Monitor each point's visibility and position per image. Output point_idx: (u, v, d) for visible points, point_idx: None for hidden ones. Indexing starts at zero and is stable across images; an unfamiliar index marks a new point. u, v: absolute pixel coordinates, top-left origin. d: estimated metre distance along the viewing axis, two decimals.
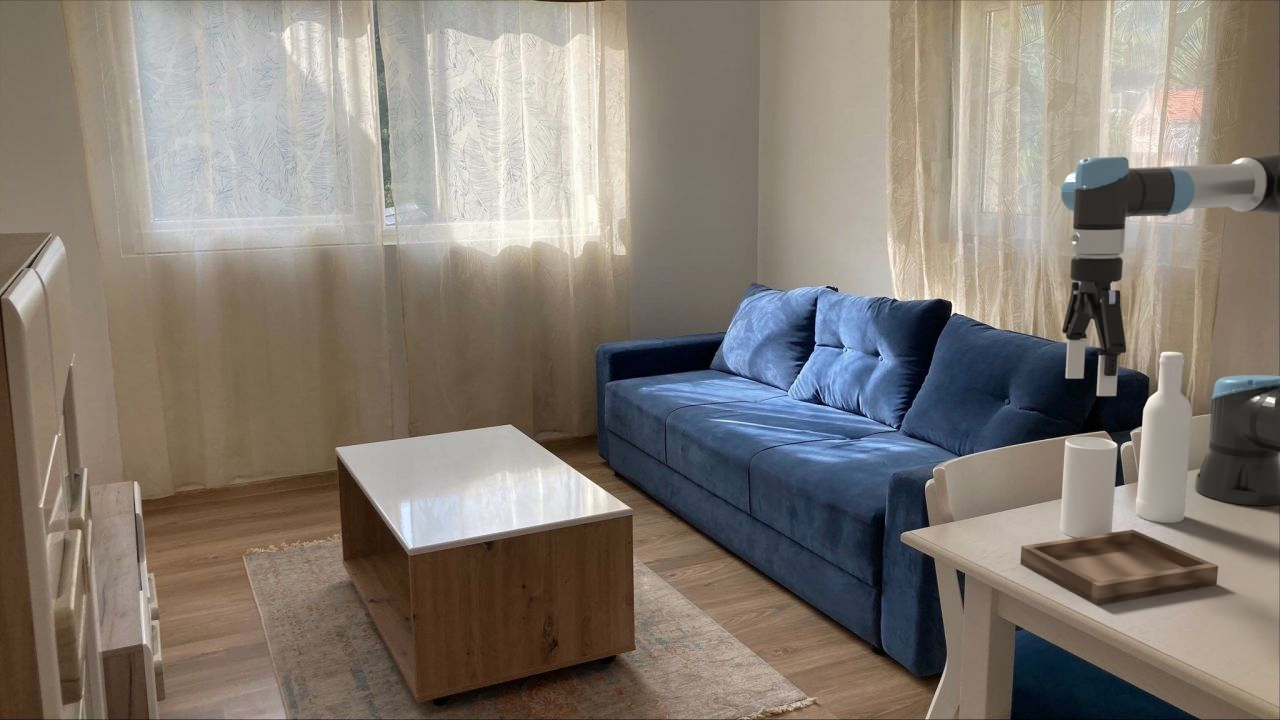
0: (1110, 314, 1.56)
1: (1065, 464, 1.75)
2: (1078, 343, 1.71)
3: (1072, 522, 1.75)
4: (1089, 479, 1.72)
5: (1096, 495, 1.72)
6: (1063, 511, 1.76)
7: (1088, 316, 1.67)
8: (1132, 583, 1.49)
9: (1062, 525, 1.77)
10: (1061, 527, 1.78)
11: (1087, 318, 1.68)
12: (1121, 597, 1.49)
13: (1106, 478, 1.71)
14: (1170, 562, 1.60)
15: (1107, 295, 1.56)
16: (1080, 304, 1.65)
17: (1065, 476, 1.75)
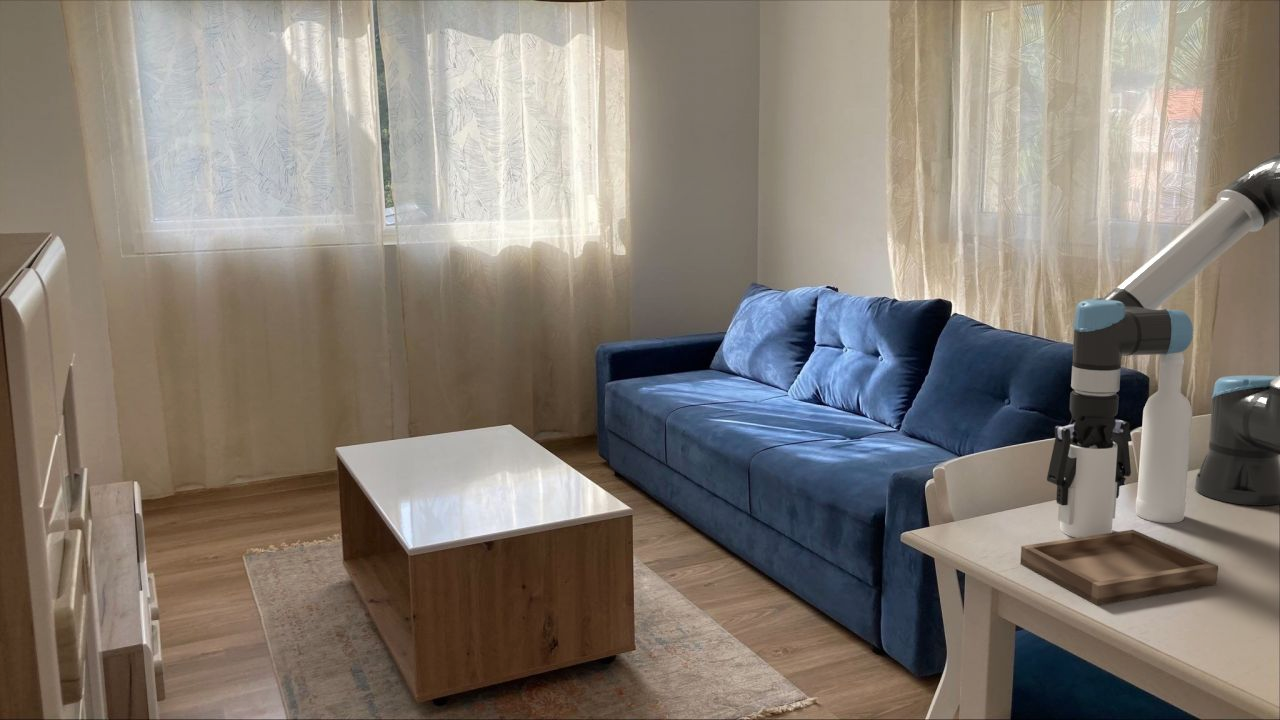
0: (1056, 448, 1.73)
1: None
2: None
3: None
4: (1089, 479, 1.72)
5: (1096, 495, 1.72)
6: None
7: None
8: (1132, 583, 1.49)
9: (1062, 525, 1.77)
10: (1061, 527, 1.78)
11: None
12: (1121, 597, 1.49)
13: (1106, 478, 1.71)
14: (1170, 562, 1.60)
15: (1056, 431, 1.73)
16: None
17: None
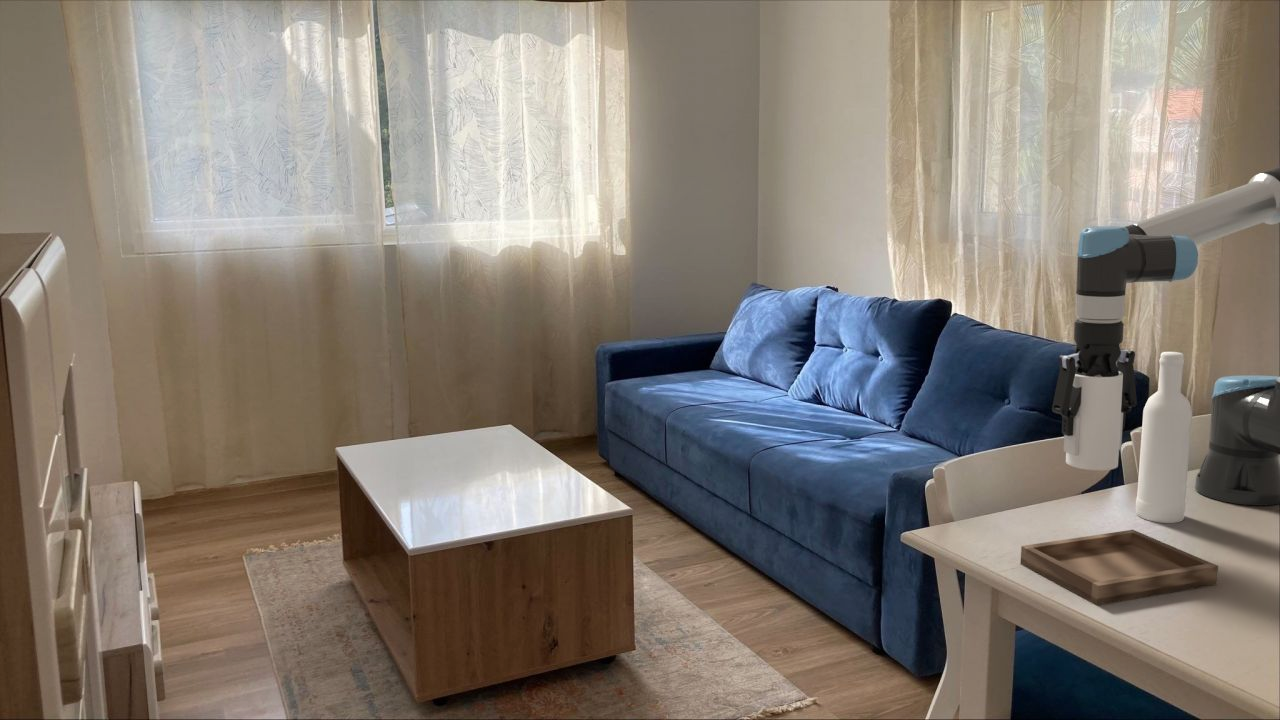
0: (1061, 378, 1.71)
1: None
2: None
3: (1078, 453, 1.72)
4: (1095, 408, 1.69)
5: (1102, 424, 1.70)
6: None
7: None
8: (1132, 583, 1.49)
9: (1068, 457, 1.75)
10: (1067, 459, 1.75)
11: None
12: (1121, 597, 1.49)
13: (1112, 407, 1.69)
14: (1170, 562, 1.60)
15: (1061, 360, 1.70)
16: None
17: None
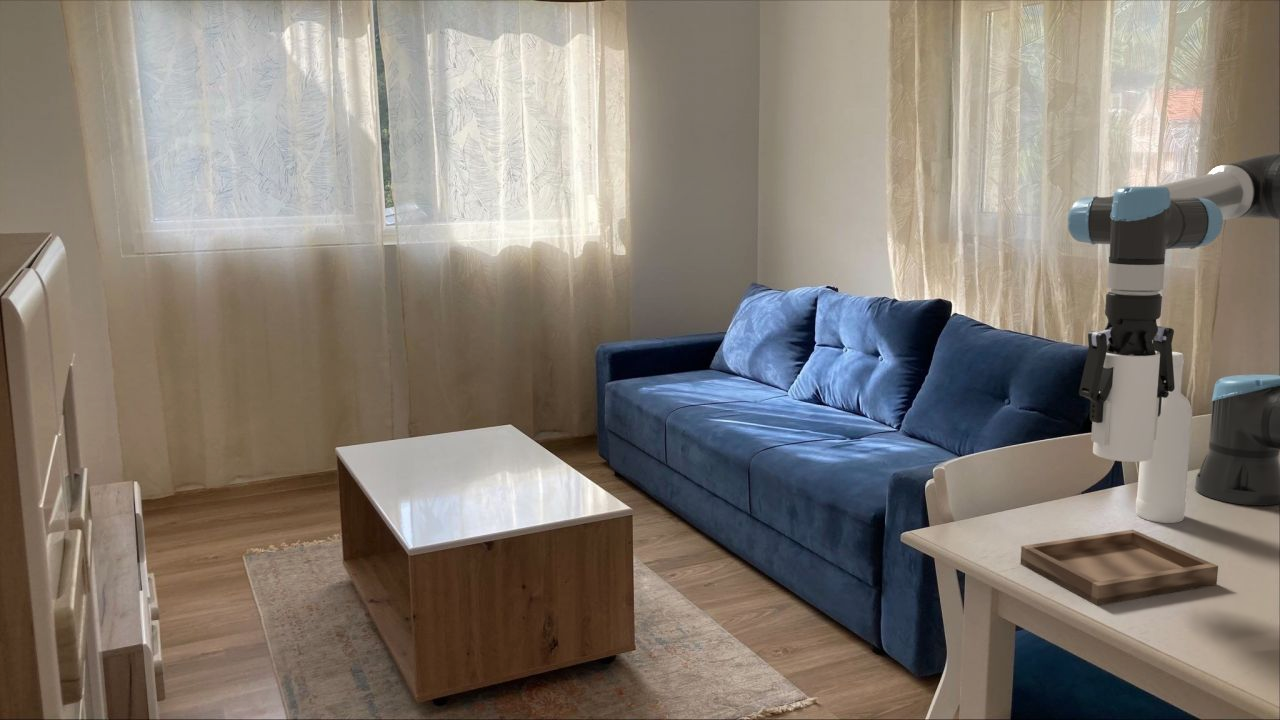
0: (1090, 357, 1.51)
1: None
2: None
3: None
4: (1128, 391, 1.50)
5: (1136, 410, 1.50)
6: None
7: None
8: (1132, 583, 1.49)
9: (1096, 447, 1.55)
10: (1094, 449, 1.56)
11: None
12: (1121, 597, 1.49)
13: (1147, 390, 1.50)
14: (1170, 562, 1.60)
15: (1090, 337, 1.51)
16: None
17: None
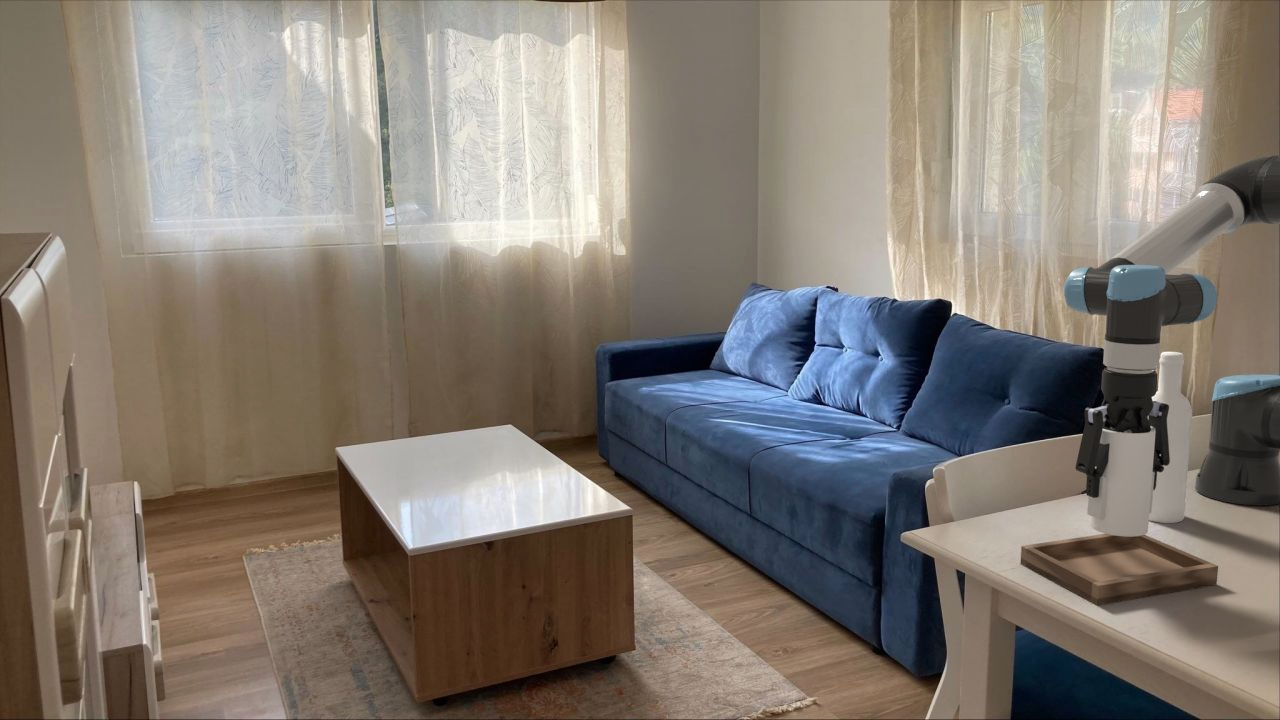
0: (1086, 433, 1.53)
1: None
2: None
3: (1104, 516, 1.55)
4: (1124, 468, 1.52)
5: (1131, 486, 1.52)
6: None
7: None
8: (1132, 583, 1.49)
9: (1092, 520, 1.57)
10: (1091, 522, 1.58)
11: None
12: (1121, 597, 1.49)
13: (1143, 466, 1.52)
14: (1170, 562, 1.60)
15: (1086, 413, 1.53)
16: None
17: None
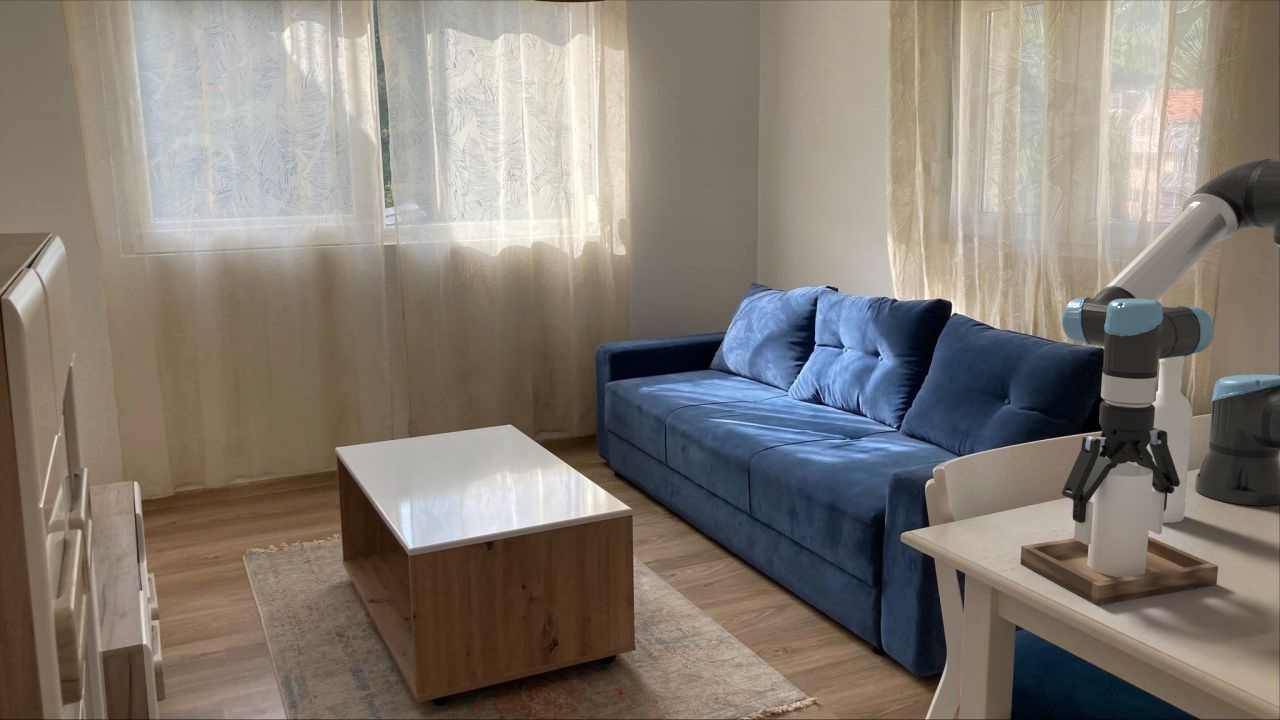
0: (1080, 459, 1.53)
1: None
2: (1155, 494, 1.58)
3: (1102, 557, 1.56)
4: (1121, 510, 1.53)
5: (1129, 528, 1.53)
6: (1091, 545, 1.58)
7: (1145, 466, 1.56)
8: (1132, 583, 1.49)
9: (1090, 560, 1.58)
10: (1089, 562, 1.59)
11: None
12: (1121, 597, 1.49)
13: (1141, 509, 1.53)
14: (1170, 562, 1.60)
15: (1084, 440, 1.53)
16: None
17: (1094, 506, 1.57)
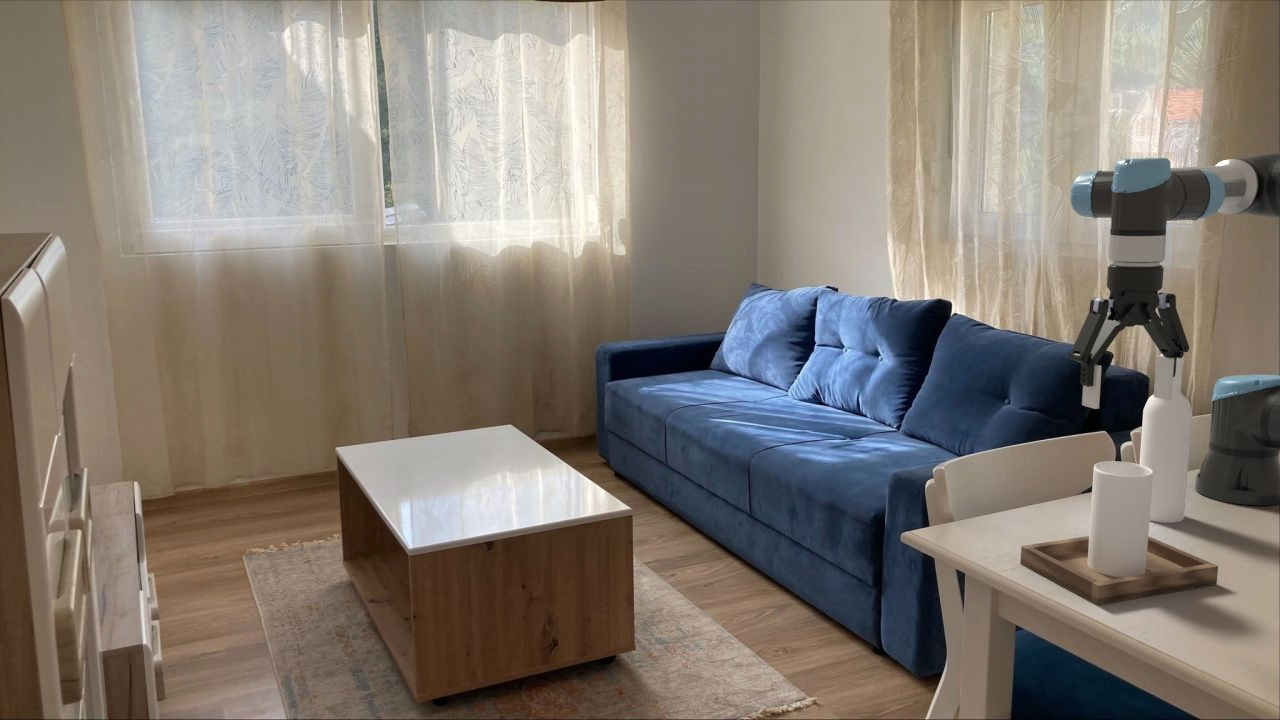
0: (1088, 322, 1.51)
1: (1094, 492, 1.57)
2: (1164, 360, 1.56)
3: (1102, 557, 1.56)
4: (1121, 510, 1.53)
5: (1129, 528, 1.53)
6: (1091, 545, 1.58)
7: (1154, 330, 1.54)
8: (1132, 583, 1.49)
9: (1090, 560, 1.58)
10: (1089, 562, 1.59)
11: (1155, 332, 1.54)
12: (1121, 597, 1.49)
13: (1141, 509, 1.53)
14: (1170, 562, 1.60)
15: (1092, 302, 1.51)
16: None
17: (1094, 506, 1.57)
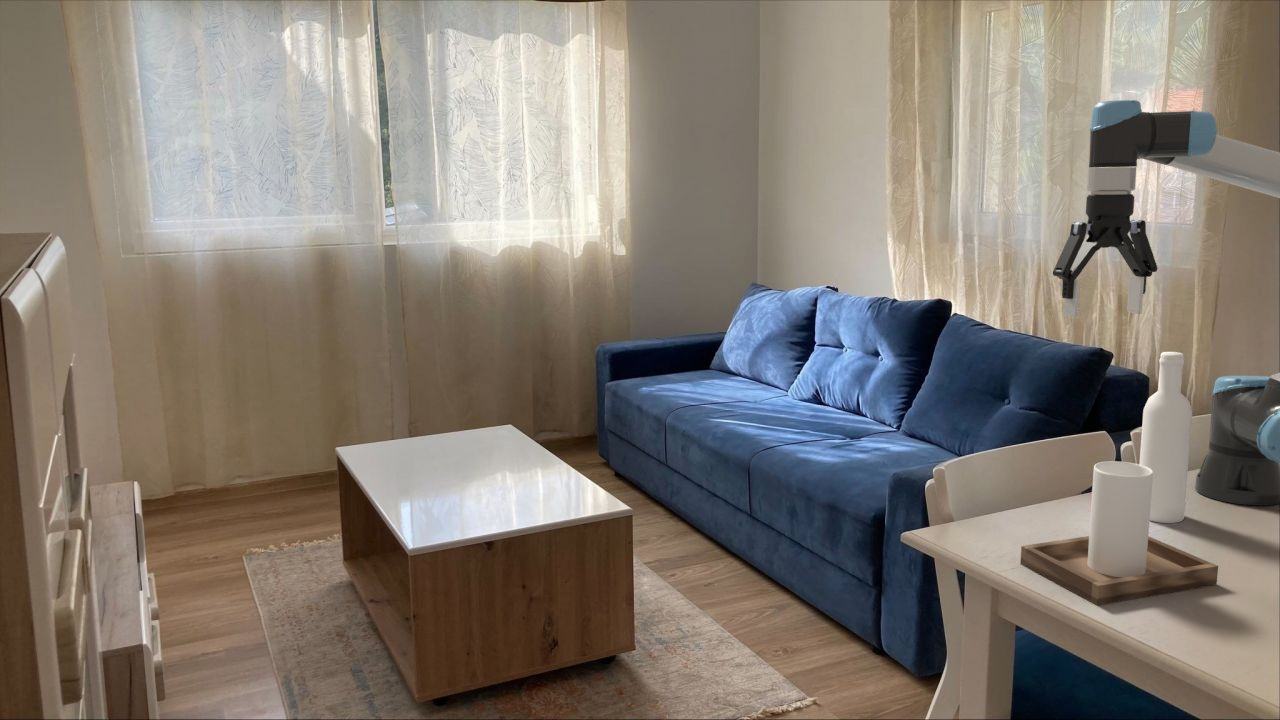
0: (1069, 242, 1.75)
1: (1094, 492, 1.57)
2: (1135, 279, 1.80)
3: (1102, 557, 1.56)
4: (1121, 510, 1.53)
5: (1129, 528, 1.53)
6: (1091, 545, 1.58)
7: (1126, 252, 1.78)
8: (1132, 583, 1.49)
9: (1090, 560, 1.58)
10: (1089, 562, 1.59)
11: (1128, 254, 1.78)
12: (1121, 597, 1.49)
13: (1141, 509, 1.53)
14: (1170, 562, 1.60)
15: (1073, 226, 1.75)
16: None
17: (1094, 506, 1.57)
